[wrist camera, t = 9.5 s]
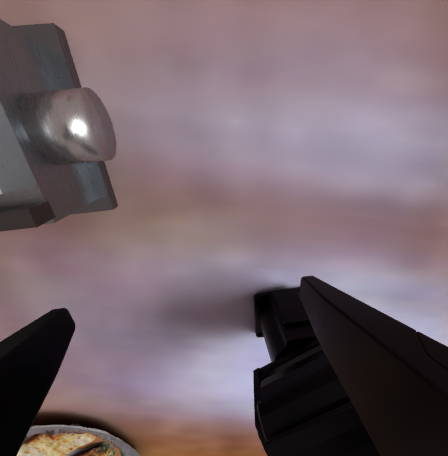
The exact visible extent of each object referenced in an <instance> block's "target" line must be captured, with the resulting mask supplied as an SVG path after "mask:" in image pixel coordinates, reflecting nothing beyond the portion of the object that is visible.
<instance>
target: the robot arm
mask: <svg viewBox="0 0 448 456" xmlns="http://www.w3.org/2000/svg"><path fill="white" fill-rule="evenodd" d="M258 298H259V299H258ZM254 314H255V333H256V336H257V337H264V339H265V342H266V345H267V349H268V352H269V355H270V359H271V363H269V364H267V365H265V366H263V367H262V368H260V369H259V368H257V369H255V370H254V371H253V372H254V407H255V426H256V429H257V431H258V436H259V438H260V440H261V442H262V445H263V447H264V450H265V452H266V454H267V455H268V456H448V347H447V346H445V345H443V344H441V343H439V342H437V341H435V340H433V339H431V338H430V337H428V336H426V335H424V334H422V333H420V332H416V330H414V329H412V328H410V327H409V326H407V325H405V324H403V323H401V322H399V321H397V320H395V319H393V318H392V317H390V316H388V315H386V314H384V313H382V312H380V311H378V310H376V309H374V308H373V307H371V306H369V305H367V304H365V303H363V302H361V301H359V300H357V299H356V298H354V297H352V296H350V295H348V294H346V293H344V292H342V291H340V290H338V289H337V288H335V287H333V286H331V285H329V284H327V283H325V282H323V281H321V280H320V279H318V278H316V277H314V276H305V277H302V278H301V284H300V288H297V289H290V290H282V291H275V292H267V293H260V294H256V295H255V296H254ZM74 331H75V322H74V321H73V319H72V317H71V315H70V313H69V311H68V310H67V309H66V308H60V309H54V310H51V311H50V312H48V313H46V314H45V315H43V316H41V317H40V318H38V319H37V320H35V321H33V322H32V323H30V324H29V325H27V326H25V327H24V328H22V329H20V330H19V331H17V332H16V333H14V334H12V335H11V336H9V337H7V338H6V339H4V340H3V341H1V342H0V456H17V454H18V452H19V450H20V448H21V446H22V444H23V442H24V440H25V438H26V436H27V434H28V432H29V430H30V428H31V426H32V424H33V422H34V420H35V418H36V416H37V414H38V412H39V410H40V408H41V406H42V404H43V402H44V400H45V398H46V396H47V394H48V392H49V390H50V388H51V386H52V384H53V382H54V380H55V377H56V375H57V373H58V371H59V368H60V366H61V364H62V361H63V359H64V356H65V354H66V351H67V349H68V346H69V343H70V341H71V338H72V336H73V333H74Z"/></svg>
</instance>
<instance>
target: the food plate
mask: <svg viewBox="0 0 448 456" xmlns="http://www.w3.org/2000/svg"><path fill="white" fill-rule="evenodd" d="M97 435H98V436H99V437H100V438H103V439H106V440H108V441H110V442H111V443H113V445H114V446H116V447H118V448H119V450H120V451H121V452H120V454H121V456H140V454H138V452H136V449H135V448H134V447H133V448H134V449H135V450H134V449H133V448H132V447H130V445H128V444H126V443H125V442H123V440H121V439H122V438H121V439H120V440H119V438H118V437H116V438H115V437H114V436H113V435H111V434H109V433H108V432H106V431H103V430H99V429H95V428H94V429H92V428H86V427H85V425H84V426H82V427H81V426H80V425H79V424H78V423H77V424H73V423H72V424H70V425H68V426H67V425H40V426H38V425H36V426H31V428H30V430H29V432H28V434H27V436H26V438H25V440H24V442H23V444H22V446H21V448H20V450H19V452H18V454H17V456H114V454H115V452H116V451H114V450H113V446H112V445H111V444H108V443H107V442H102V443H99V444H95V445H93V446H90V447H88V448H87V447H86V448H84V449H77V448H78V447H80V446H83V445H85V444H87V443H90V442H91V441H95V440H96V437H97ZM117 455H118V454H117Z"/></svg>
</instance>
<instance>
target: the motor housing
mask: <svg viewBox="0 0 448 456" xmlns="http://www.w3.org/2000/svg"><path fill="white" fill-rule="evenodd" d="M115 153H116V138H115V133H114V129H113V125H112V122H111V119H110V117H109V114H108V112H107V110H106V108H105V106H104V104H103V103H102V101H101V100H100V98H99V97H98V96H97V94H96V93H95V92H94V91H92V90H91V89H89V88H81V85H80V82H79V78H78V75H77V72H76V69H75V65H74V62H73V59H72V56H71V53H70V49H69V46H68V43H67V40H66V36H65V33H64V31H63V30H62V29H61V28H59V27H58V26H57V25H55V24H54V23H50V24H36V25H23V26H11V25H9V24H7V23H6V22H4V21H2V20H0V189H1V191H2V193H3V194H1V195H0V231H7V230H15V229H24V228H33V227H38V226H40V225H42V224H48V223H55V222H57V221H59V220H61V219H62V218H64V217H66V216H68V215H70V214H77V213H86V212H95V211H104V210H113V209H115V208H116V207H117V206H118V205H117V201H116V198H115V195H114V192H113V188H112V185H111V182H110V179H109V176H108V172H107V169H106V166H105V163H104V161H106V160H112V159H113V158H114V156H115Z"/></svg>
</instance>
